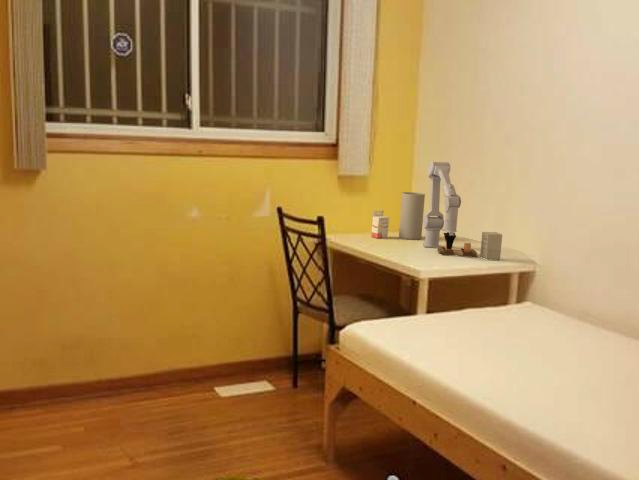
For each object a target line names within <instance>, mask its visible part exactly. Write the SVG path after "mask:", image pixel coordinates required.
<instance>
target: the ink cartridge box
mask: <svg viewBox="0 0 639 480" xmlns="http://www.w3.org/2000/svg"><path fill="white" fill-rule="evenodd" d="M384 213H385V212H384V210H374V211H373V214H372V223H371V236H370V237H371V238H373V239H388V238H389V237H388V236H389V223H390V217H389V216H385V215H384Z"/></svg>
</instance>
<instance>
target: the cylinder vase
mask: <svg viewBox="0 0 639 480" xmlns="http://www.w3.org/2000/svg"><path fill="white" fill-rule="evenodd" d="M425 198H426V194H425V193H421V192H411V191H410V192H408V191H407V192H406V191H405V192H404V191H403V192H402V193H401V204H400V205H401V206H400V216H399V229H398V230H399V232H398V237H399V238H400V239H404V240H411V241H412V240H413V241H415V240H421V239H422V236H423V219H424V213H425V212H424V210H425Z"/></svg>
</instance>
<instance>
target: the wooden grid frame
mask: <svg viewBox="0 0 639 480" xmlns="http://www.w3.org/2000/svg"><path fill="white" fill-rule="evenodd" d="M436 249H437V251H436V252H437V253H438V255H439V254H442V255H441V256H449V255H458V256H457V257H463V256H472V257H471V258H478V252H477V251H476V250H475V249H474V248H471V251H470V253H468V252H464V248H461V247H459V248H458V247H452V251H445V246H440V247H438V248H436Z"/></svg>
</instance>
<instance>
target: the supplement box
mask: <svg viewBox="0 0 639 480" xmlns="http://www.w3.org/2000/svg"><path fill="white" fill-rule="evenodd" d="M480 242H481V243H480V255H479V257H480V258H481V257H482V258H481V259H483V258H485V259H500V260H501V256H502V255H501V252H502V244H503V243H502V242H503V234H502V233H500V232H497V231H482V234H481V241H480ZM485 259H484V260H485Z"/></svg>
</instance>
